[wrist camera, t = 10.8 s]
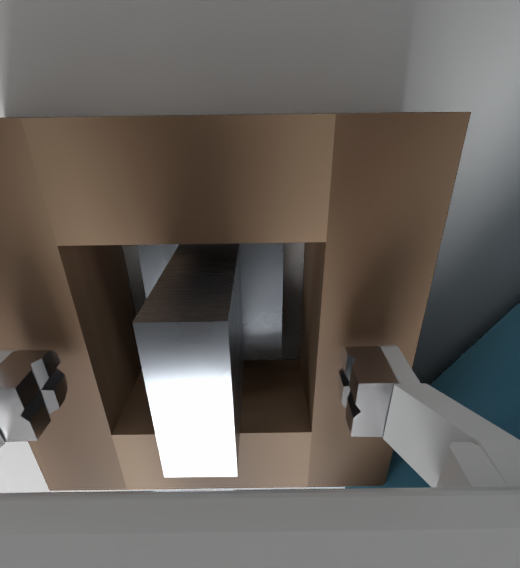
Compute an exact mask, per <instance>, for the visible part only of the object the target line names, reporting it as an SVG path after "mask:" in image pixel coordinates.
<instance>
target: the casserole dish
mask: <svg viewBox="0 0 520 568" xmlns="http://www.w3.org/2000/svg"><path fill="white" fill-rule="evenodd" d="M430 386H431V387H433V388H435V389H436V390H438V391H440V392H441V393H443V394H445V395H446V396H448V397H450V398H451V399H453V400H454V401H456V402H458V403H459V404H461V405H463V406H464V407H466V408H468V409H469V410H471V411H473V412H474V413H476V414H478V415H479V416H481V417H483V418H484V419H486V420H488V421H489V422H491V423H492V424H494V425H496V426H497V427H499V428H501V429H502V430H504V431H506V432H507V433H509V434H511V435H512V436H514V437H516V438H517V439H519V440H520V302H519V303H518V304H517V305H516V306H515V307H514V308H513V309H511V310H510V311H509V312H508V313H507V314H506V315H505V316H504V317H503V318H502V319H501V320H500V321H498V322H497V323H496V324H495V325H494V326H493V327H492V328H491V329H490V330H489V331H488V332H487V333H485V334H484V335H483V336H482V337H481V338H480V339H479V340H478V341H477V342H476V343H475V344H473V345H472V346H471V347H470V348H469V349H468V350H467V351H466V352H465V353H464V354H463V355H462V356H460V357H459V358H458V359H457V360H456V361H455V362H454V363H453V364H452V365H451V366H450V367H449V368H447V369H446V370H445V371H444V372H443V373H442V374H441V375H440V376H439V377H438V378H437V379H436V380H435V381H434V382H433V383H432V384H430ZM430 487H431V486H430V485H429V484H428V483H427V482H426V481H425V480H424V479H423V478H422V477H421V476H420V475H419V474H418V473H417V472H416V471H415V470H414V469H413V468H412V467H411V466H410V465H409V464H408V463H407V462H406V461H405V460H404V459H403V458H402V457H401V456H400V455H399V454H398V453H397V452H396V451H395V450H394V449H393V452H392V457H391V461H390V465H389V470H388V474H387V478H386V483H385V484H384V485H383V486H346V487H345V489H354V488H430Z"/></svg>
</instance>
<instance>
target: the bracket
mask: <svg viewBox="0 0 520 568" xmlns="http://www.w3.org/2000/svg"><path fill="white" fill-rule="evenodd" d="M137 251H138V256H139V262H140V267H141V273H142V278H143V284H144V290H145V295H146V301H145V302H144V304H143V306H142V307H141V309H140V311H139V312H138V314H137V316H136V317H135V319H134V321H133V322H132V323H133V328H134V333H135V338H136V343H137V348H138V352H139V357H140V362H141V367H142V372H143V377H144V381H145V386H146V391H147V396H148V401H149V406H150V410H151V415H152V420H153V425H154V430H155V435H156V439H157V444H158V449H159V454H160V459H161V464H162V468H163V473H164V477H237V476H238V459H239V441H240V424H241V406H242V389H243V371H244V360H260V359H281V355H282V303H283V251H284V243H228V244H154V245H137Z"/></svg>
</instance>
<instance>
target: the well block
mask: <svg viewBox="0 0 520 568" xmlns="http://www.w3.org/2000/svg"><path fill="white" fill-rule="evenodd" d="M470 114H471V112H388V113H314V114H240V115H165V116H91V117H17V118H0V350H53V351H55V352H57V353H58V356H59V358H60V361H61V363H60V365H59V367H58V369H59V370H60V371H62V372H63V373H64V374H65V376H66V379H67V386H68V390H67V394H66V397H65V400H64V402H63V403H62V405H61V406H60V408H59V409H57V410H55V411H54V412H52V413H51V414H50V418H51V421H50V423H49V424H48V426H47V427H46V429H45V430H44V432H43V433H42V435H41V436H40V438H39V439H38V440H37V441H28V443H29V445H30V447H31V449H32V452H33V454H34V456H35V458H36V461H37V463H38V465H39V467H40V470H41V472H42V474H43V476H44V479H45V481H46V483H47V485H48V488H49V490H50V491H52V490H126V489H199V488H273V487H346V486H383V485H384V484H385V483H386V478H387V474H388V470H389V465H390V461H391V457H392V452H393V448H392V447H391V446H390V445H389V444H388V443H387V442H386V441H385V440H384V439H383V437H351V435H350V432H349V428H348V425H347V422H346V418H345V413H346V407H344V406H343V405H342V404H341V401H340V397H339V391H338V373H339V370H340V369H341V368H342V367H343V366H342V363H341V360H340V355H341V349H342V347H356V346H378V345H396V346H398V347H399V349H400V350H401V352H402V354H403V355H404V357H405V359H406V360H407V362H408V363H409V365H410V367H411V368H412V366H413V361H414V357H415V353H416V348H417V344H418V340H419V335H420V331H421V327H422V322H423V318H424V314H425V309H426V305H427V301H428V296H429V292H430V288H431V283H432V279H433V274H434V270H435V266H436V261H437V257H438V253H439V248H440V244H441V240H442V235H443V231H444V227H445V222H446V218H447V214H448V209H449V205H450V201H451V196H452V192H453V188H454V183H455V179H456V175H457V170H458V166H459V162H460V157H461V153H462V149H463V144H464V140H465V136H466V131H467V127H468V123H469V118H470ZM302 242H305V250H304V271H303V292H302V313H301V334H300V355H299V359H293V360H244V371H243V389H242V406H241V424H240V441H239V459H238V476H237V477H164V473H163V468H162V464H161V459H160V454H159V449H158V444H157V439H156V435H155V430H154V425H153V420H152V415H151V410H150V406H149V401H148V396H147V391H146V386H145V381H144V377H143V372H142V367H141V362H140V357H139V352H138V348H137V343H136V338H135V333H134V328H133V323H132V322H133V321H134V319H135V317H136V315H135V310H134V305H133V300H132V295H131V290H130V285H129V280H128V275H127V270H126V264H125V259H124V254H123V249H122V245H154V244H228V243H302Z"/></svg>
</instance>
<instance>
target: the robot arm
mask: <svg viewBox="0 0 520 568" xmlns="http://www.w3.org/2000/svg"><path fill="white" fill-rule="evenodd" d="M340 360H341V363H342V366H343V367H342V368H341V369H340V370H339V373H338V391H339V397H340V401H341V404H342V405H343V406H344V407H346V413H345V418H346V422H347V425H348V428H349V432H350V435H351V437H383V439H384V440H385V441H386V442H387V443H388V444H389V445H390V446H391V447H392V448H393V449H394V450H395V451H396V452H397V453H398V454H399V455H400V456H401V457H402V458H403V459H404V460H405V461H406V462H407V463H408V464H409V465H410V466H411V467H412V468H413V469H414V470H415V471H416V472H417V473H418V474H419V475H420V476H421V477H422V478H423V479H424V480H425V481H426V482H427V483H428V484H429V485H430V486H431V487H430V488H354V489H276V490H193V491H117V492H41V493H0V568H520V440H519V439H517V438H516V437H514V436H512V435H511V434H509V433H507V432H506V431H504V430H502V429H501V428H499V427H497V426H496V425H494V424H492V423H491V422H489V421H488V420H486V419H484V418H483V417H481V416H479V415H478V414H476V413H474V412H473V411H471V410H469V409H468V408H466V407H464V406H463V405H461V404H459V403H458V402H456V401H454V400H453V399H451V398H450V397H448V396H446V395H445V394H443V393H441V392H440V391H438V390H436V389H435V388H433V387H431V386H430V385H428V384H426V383H420V381H419V380H418V378H417V376H416V375H415V373H414V372H413V370H412V368H411V367H410V365H409V363H408V362H407V360H406V359H405V357H404V355H403V354H402V352H401V350H400V349H399V347H398V346H396V345H378V346H356V347H342V349H341V355H340ZM60 363H61V361H60V358H59V356H58V353H57V352H55V351H53V350H0V447H1V446H2V445H4V444H5V442H16V441H37V440H38V439H39V438H40V436H41V435H42V433H43V432H44V430H45V429H46V427H47V426H48V424H49V423H50V421H51V418H50V414H51V413H52V412H54V411H55V410H57V409H59V408H60V406H61V405H62V403H63V402H64V400H65V397H66V394H67V390H68V386H67V379H66V376H65V374H64V373H63V372H62V371H60V370H59V369H58V367H59V365H60Z"/></svg>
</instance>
